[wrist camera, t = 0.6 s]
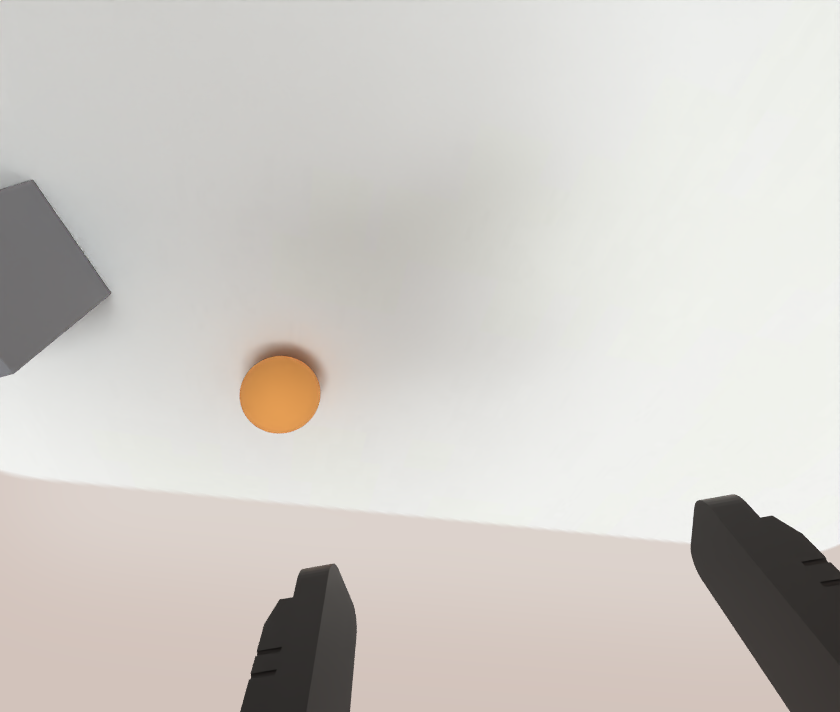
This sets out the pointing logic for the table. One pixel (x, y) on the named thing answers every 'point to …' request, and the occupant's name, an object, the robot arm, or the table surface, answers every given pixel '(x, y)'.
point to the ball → (279, 394)
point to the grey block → (39, 277)
